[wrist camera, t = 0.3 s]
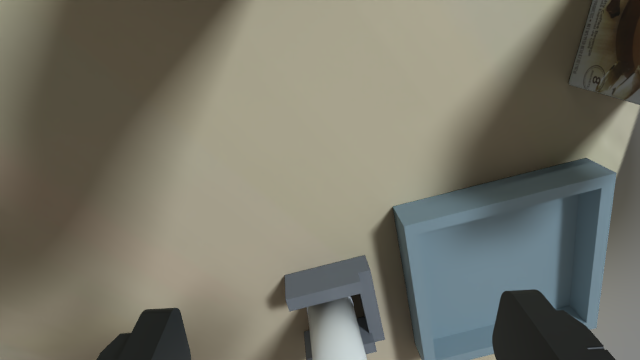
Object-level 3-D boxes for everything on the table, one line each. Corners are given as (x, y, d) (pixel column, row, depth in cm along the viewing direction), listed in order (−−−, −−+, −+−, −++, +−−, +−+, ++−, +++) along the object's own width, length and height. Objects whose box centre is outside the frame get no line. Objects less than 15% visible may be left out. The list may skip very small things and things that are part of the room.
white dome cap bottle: (301, 289, 33) (310, 396, 24) (346, 278, 33) (373, 380, 24) (312, 323, 35) (324, 434, 26) (355, 312, 35) (383, 419, 26)
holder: (284, 275, 32) (285, 300, 30) (364, 255, 32) (373, 278, 30) (306, 340, 36) (309, 368, 33) (379, 322, 36) (387, 348, 33)
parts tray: (392, 206, 31) (403, 226, 28) (586, 157, 31) (616, 172, 28) (415, 344, 37) (426, 370, 35) (573, 304, 37) (596, 327, 35)
